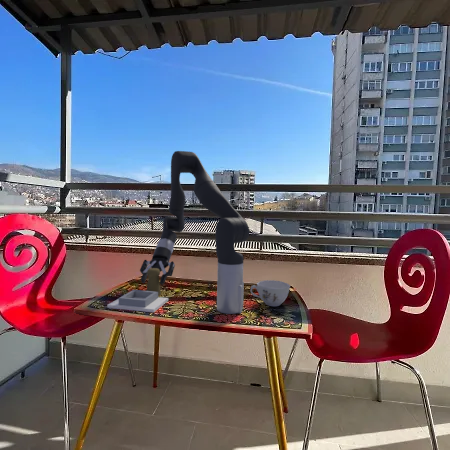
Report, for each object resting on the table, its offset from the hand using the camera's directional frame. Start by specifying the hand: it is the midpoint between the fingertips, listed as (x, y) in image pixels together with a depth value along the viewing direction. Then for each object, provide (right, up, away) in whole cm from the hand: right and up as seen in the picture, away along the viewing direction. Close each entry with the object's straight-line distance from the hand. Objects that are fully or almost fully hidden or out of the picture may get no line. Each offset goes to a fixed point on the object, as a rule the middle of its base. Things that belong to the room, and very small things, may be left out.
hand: (152, 283), depth 114 cm
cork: (0, -5, +2) cm, 6 cm away
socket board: (-2, -6, -10) cm, 12 cm away
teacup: (+47, -7, -7) cm, 48 cm away
